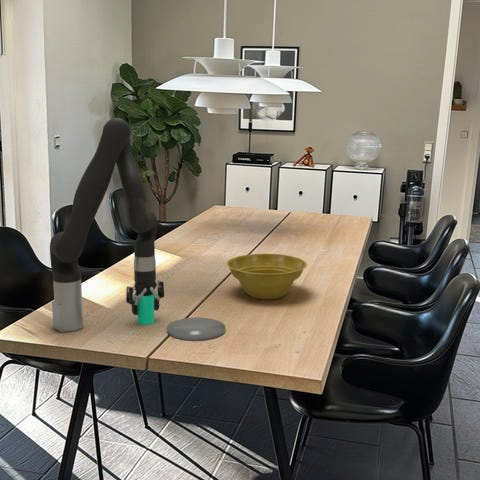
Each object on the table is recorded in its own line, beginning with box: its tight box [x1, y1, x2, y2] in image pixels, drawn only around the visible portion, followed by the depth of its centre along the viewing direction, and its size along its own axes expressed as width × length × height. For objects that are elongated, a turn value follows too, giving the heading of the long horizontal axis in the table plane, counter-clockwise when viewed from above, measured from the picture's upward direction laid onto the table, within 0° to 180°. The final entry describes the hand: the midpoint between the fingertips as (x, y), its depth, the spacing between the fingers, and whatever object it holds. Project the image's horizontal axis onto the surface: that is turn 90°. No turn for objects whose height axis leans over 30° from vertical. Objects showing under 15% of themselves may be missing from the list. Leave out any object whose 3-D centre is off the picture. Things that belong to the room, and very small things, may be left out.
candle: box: [137, 294, 155, 326], centre depth 237 cm, size 6×6×12 cm
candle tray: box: [166, 317, 226, 342], centre depth 230 cm, size 20×20×1 cm
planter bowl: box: [226, 253, 308, 300], centre depth 271 cm, size 32×32×13 cm
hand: (145, 312), depth 238 cm, fingers open, 8 cm apart
